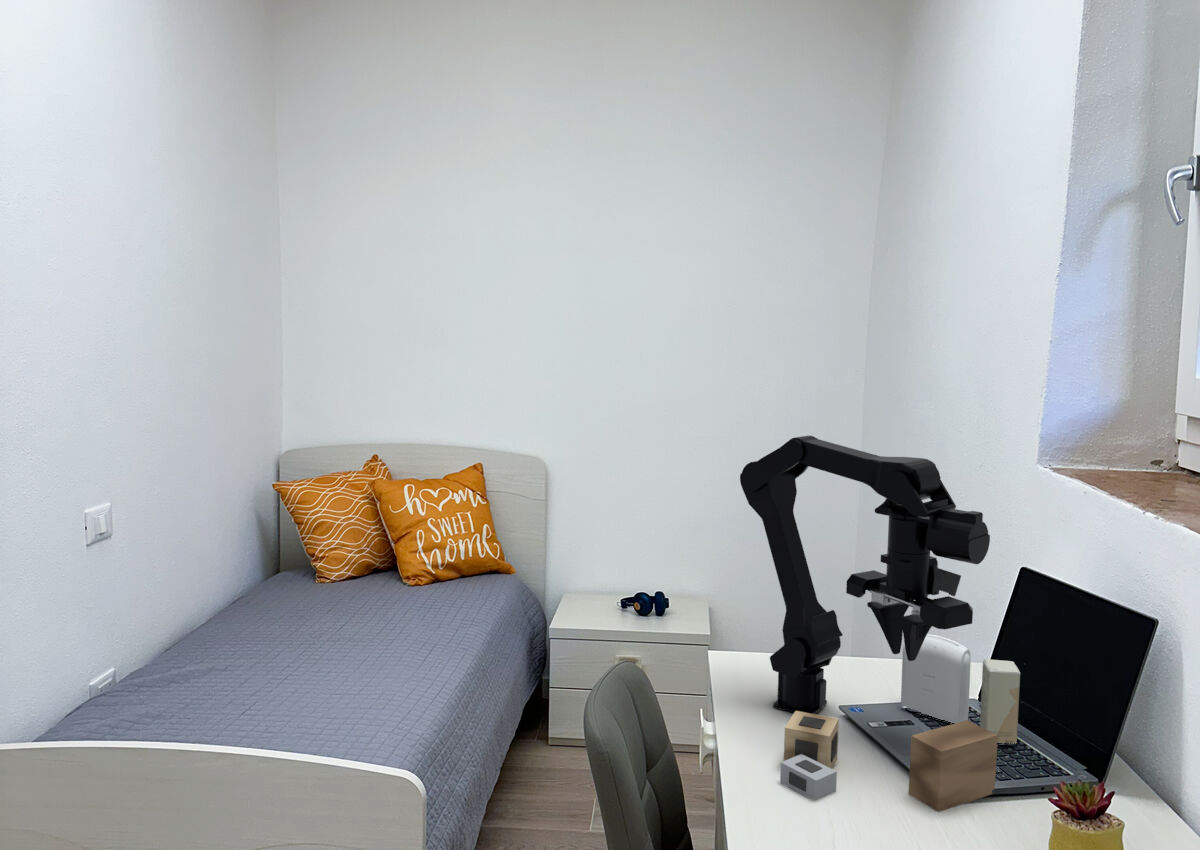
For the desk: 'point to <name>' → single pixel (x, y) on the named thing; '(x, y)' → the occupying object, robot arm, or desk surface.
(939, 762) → the walnut block
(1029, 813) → the desk surface
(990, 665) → the box
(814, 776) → the grey block
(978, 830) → the desk surface
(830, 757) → the oak cube
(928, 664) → the photo printer
